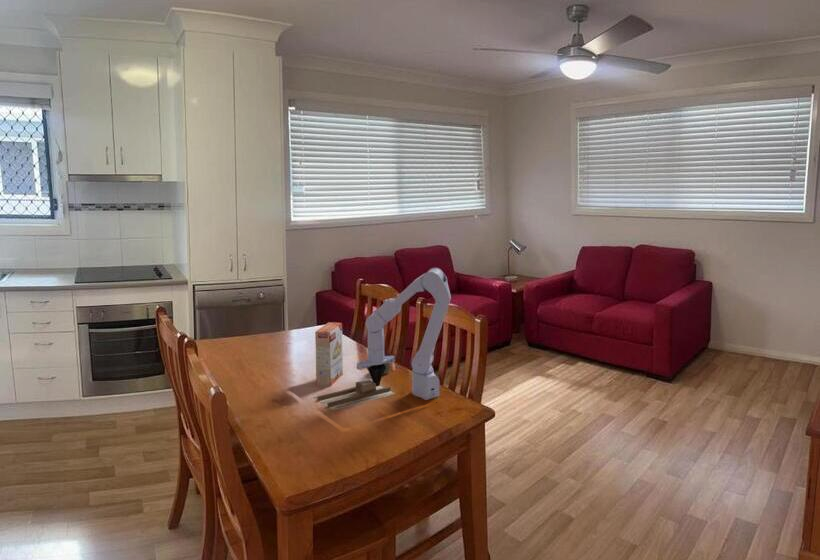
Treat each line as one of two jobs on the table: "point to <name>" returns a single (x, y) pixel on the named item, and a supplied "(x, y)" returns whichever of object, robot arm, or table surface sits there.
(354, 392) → the birch board
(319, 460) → the table surface
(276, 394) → the table surface
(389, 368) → the vase
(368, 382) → the block
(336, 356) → the cracker box
